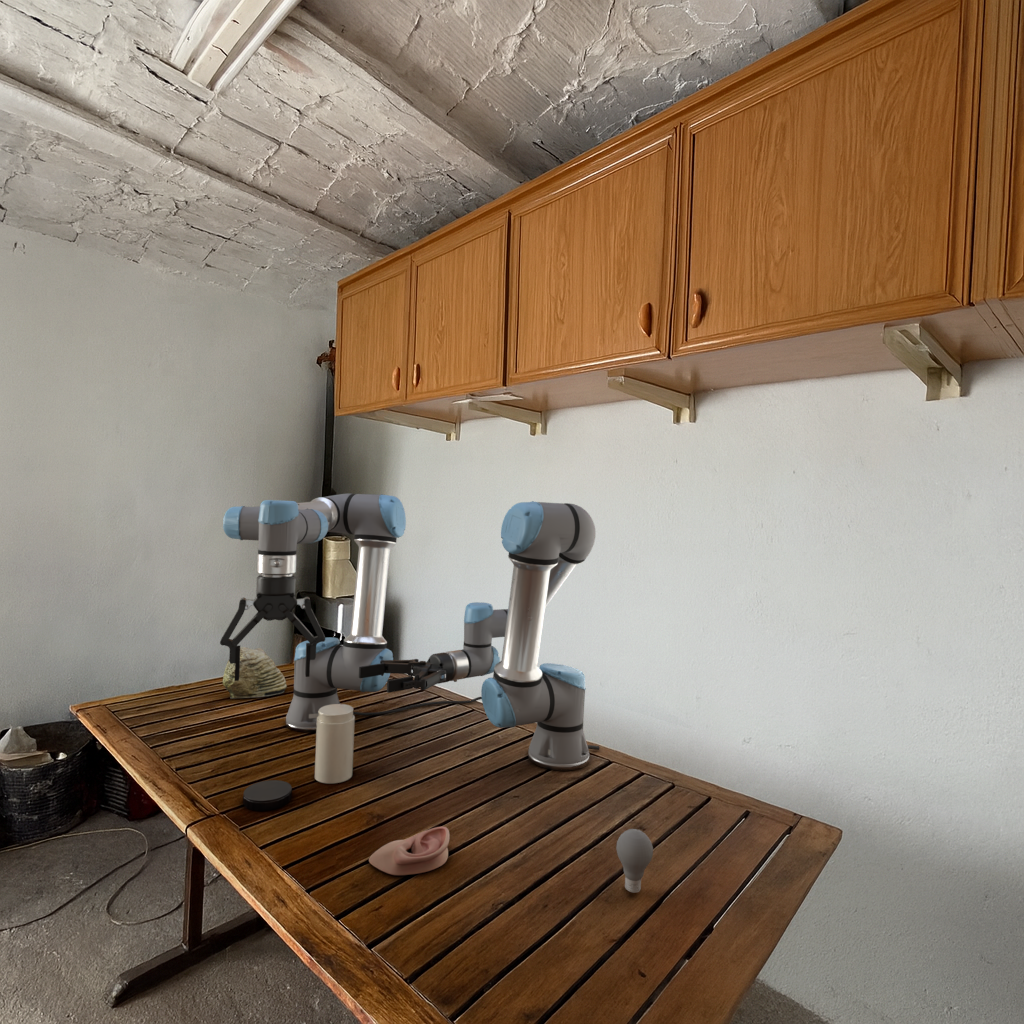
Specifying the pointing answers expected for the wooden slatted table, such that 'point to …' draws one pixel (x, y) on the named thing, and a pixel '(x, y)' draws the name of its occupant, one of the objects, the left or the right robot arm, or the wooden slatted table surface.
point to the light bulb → (634, 857)
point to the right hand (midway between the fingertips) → (373, 679)
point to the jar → (334, 743)
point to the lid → (267, 795)
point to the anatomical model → (413, 853)
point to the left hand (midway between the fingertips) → (272, 677)
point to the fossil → (254, 675)
